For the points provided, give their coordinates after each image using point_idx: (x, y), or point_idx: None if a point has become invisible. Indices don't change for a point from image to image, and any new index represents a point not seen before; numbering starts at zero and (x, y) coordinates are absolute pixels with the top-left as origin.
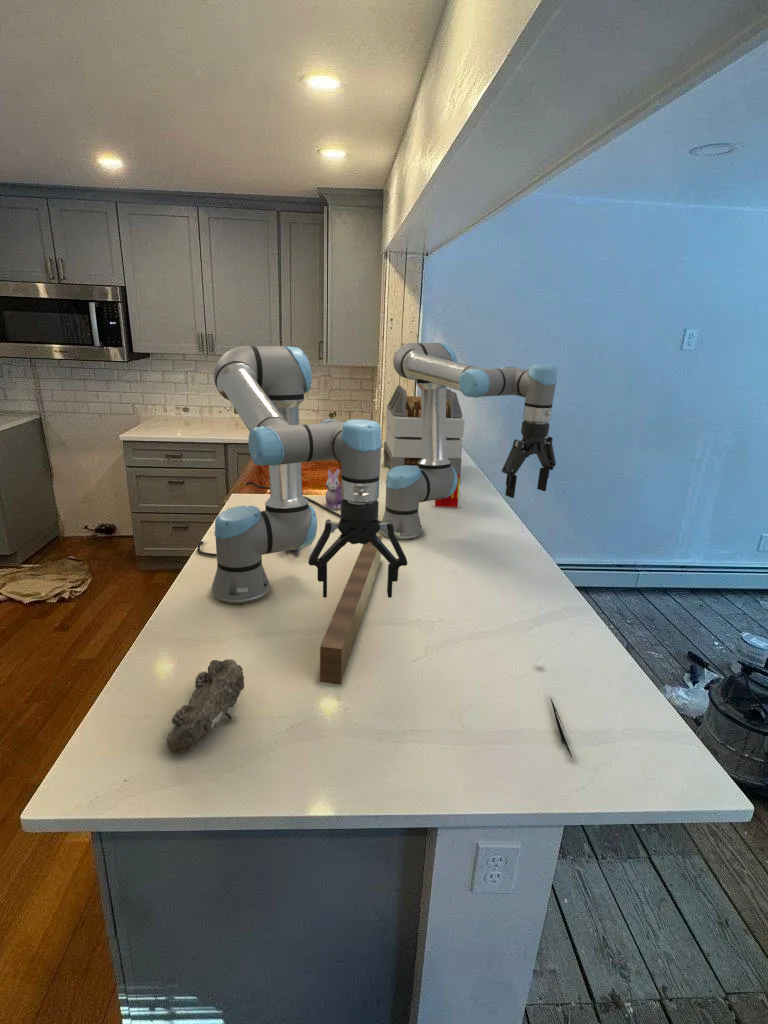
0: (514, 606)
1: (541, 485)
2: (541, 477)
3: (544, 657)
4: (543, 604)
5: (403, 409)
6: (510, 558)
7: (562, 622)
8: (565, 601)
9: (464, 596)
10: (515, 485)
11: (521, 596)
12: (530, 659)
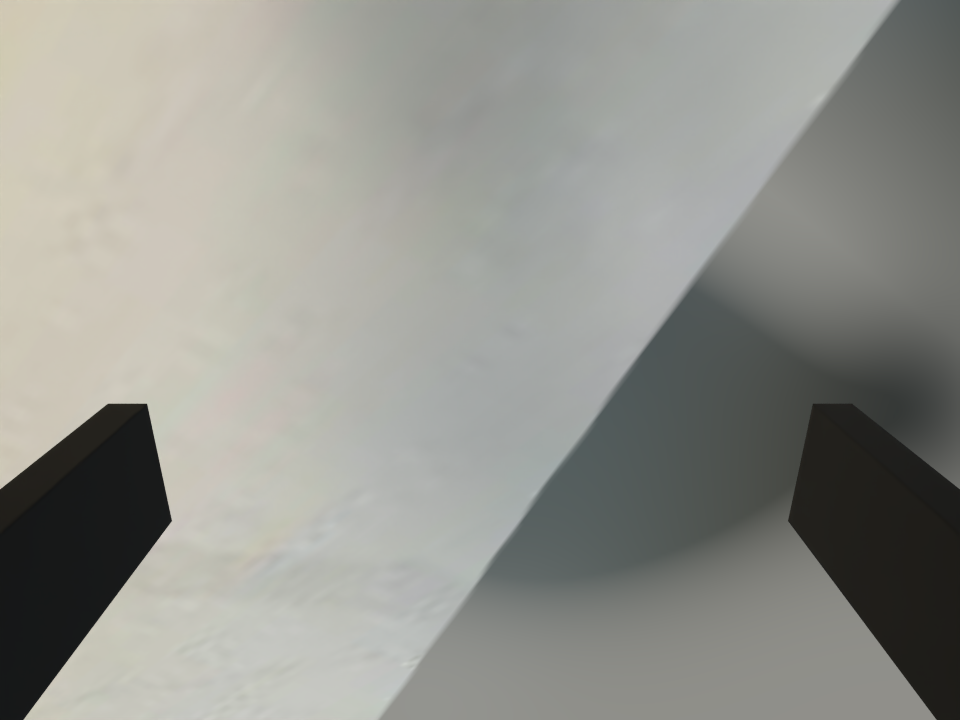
0: (226, 469)
1: (835, 513)
2: (933, 581)
3: (108, 701)
4: (349, 512)
5: None
6: (593, 92)
7: (313, 618)
8: (450, 537)
9: (64, 305)
10: (57, 664)
11: (313, 429)
12: (60, 690)
